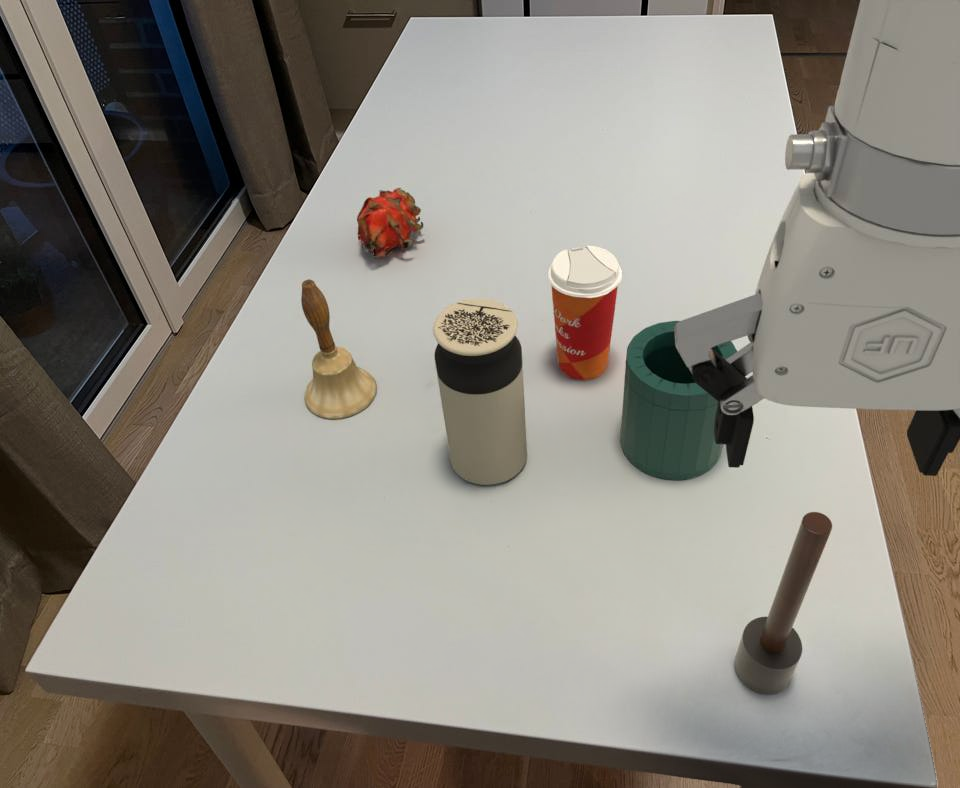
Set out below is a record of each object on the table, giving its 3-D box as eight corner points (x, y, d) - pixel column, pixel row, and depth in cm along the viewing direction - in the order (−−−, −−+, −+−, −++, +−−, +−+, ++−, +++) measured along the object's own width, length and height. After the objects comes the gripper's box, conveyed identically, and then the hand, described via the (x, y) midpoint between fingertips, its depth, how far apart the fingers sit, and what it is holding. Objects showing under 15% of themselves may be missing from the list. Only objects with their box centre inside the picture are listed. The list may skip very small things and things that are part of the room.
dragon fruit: (419, 229, 117) (384, 286, 110) (370, 196, 115) (331, 252, 108) (442, 197, 110) (406, 256, 103) (390, 160, 108) (350, 218, 101)
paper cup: (542, 348, 94) (539, 249, 84) (604, 336, 94) (609, 237, 85) (559, 393, 88) (558, 293, 78) (626, 380, 89) (633, 279, 79)
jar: (734, 424, 83) (753, 338, 75) (702, 494, 77) (719, 408, 69) (641, 395, 87) (650, 310, 79) (605, 459, 81) (609, 374, 73)
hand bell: (372, 418, 88) (344, 305, 77) (299, 421, 88) (260, 309, 77) (380, 366, 94) (355, 254, 82) (311, 369, 94) (277, 259, 83)
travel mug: (507, 497, 79) (496, 364, 66) (437, 472, 82) (413, 340, 69) (539, 441, 84) (534, 307, 71) (472, 420, 86) (456, 288, 74)
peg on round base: (797, 657, 65) (861, 510, 51) (782, 704, 62) (846, 562, 48) (743, 634, 67) (790, 486, 53) (727, 679, 64) (773, 535, 50)
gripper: (703, 215, 29) (663, 499, 41) (1227, 215, 27) (1023, 516, 39) (690, 120, 35) (658, 397, 47) (1128, 113, 32) (975, 406, 44)
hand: (824, 451), depth 43 cm, fingers open, 9 cm apart
